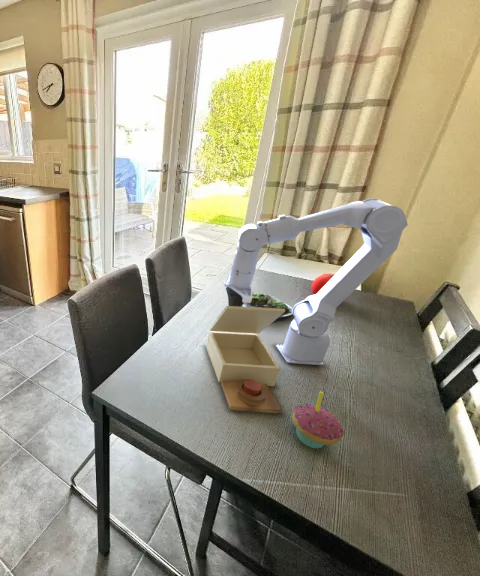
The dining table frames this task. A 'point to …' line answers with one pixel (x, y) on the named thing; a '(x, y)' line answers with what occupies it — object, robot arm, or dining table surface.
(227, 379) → the bin
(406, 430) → the dining table surface
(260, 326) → the lid
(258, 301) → the salad plate
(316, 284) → the tomato
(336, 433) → the cupcake
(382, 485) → the dining table surface
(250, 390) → the button
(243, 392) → the wooden base board
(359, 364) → the dining table surface
